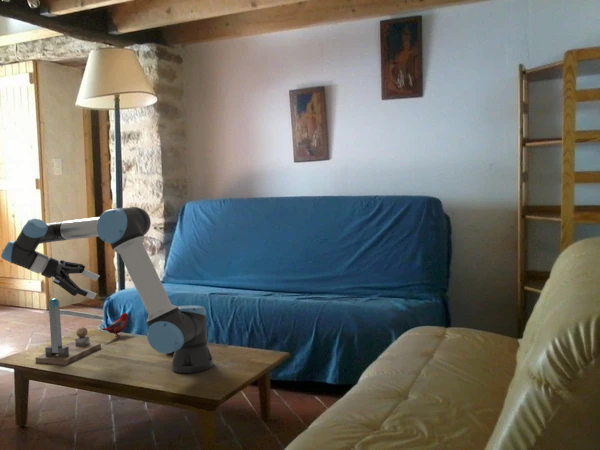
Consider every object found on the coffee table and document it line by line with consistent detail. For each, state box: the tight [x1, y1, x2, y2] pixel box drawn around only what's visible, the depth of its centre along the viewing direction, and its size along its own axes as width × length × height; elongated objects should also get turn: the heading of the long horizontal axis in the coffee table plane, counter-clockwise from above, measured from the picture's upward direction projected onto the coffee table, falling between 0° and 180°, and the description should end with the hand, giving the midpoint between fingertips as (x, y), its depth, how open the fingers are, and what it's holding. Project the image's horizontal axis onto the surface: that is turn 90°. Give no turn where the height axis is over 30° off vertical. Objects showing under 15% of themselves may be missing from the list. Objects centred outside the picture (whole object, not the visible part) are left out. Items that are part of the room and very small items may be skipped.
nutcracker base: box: [35, 326, 102, 366], centre depth 223 cm, size 22×14×9 cm, turn 165°
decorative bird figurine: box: [99, 312, 130, 338], centre depth 247 cm, size 3×18×10 cm, turn 153°
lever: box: [48, 298, 63, 355], centre depth 215 cm, size 4×4×22 cm
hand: (96, 287), depth 220 cm, fingers open, 13 cm apart
